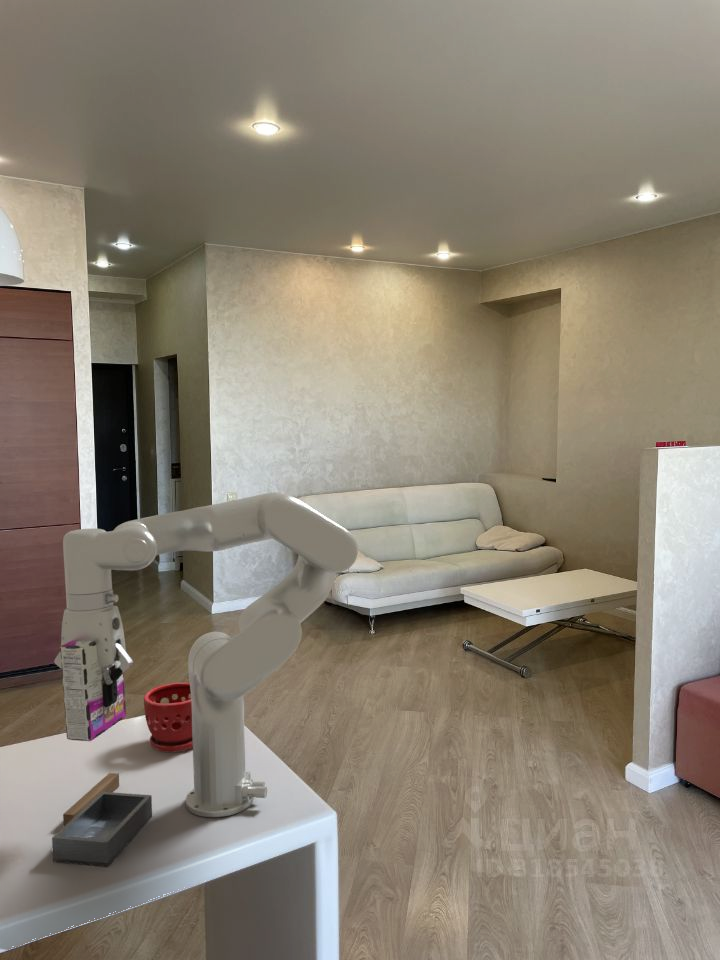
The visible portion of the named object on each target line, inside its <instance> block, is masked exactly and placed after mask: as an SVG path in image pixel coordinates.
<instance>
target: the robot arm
mask: <svg viewBox="0 0 720 960" xmlns="http://www.w3.org/2000/svg"><path fill="white" fill-rule="evenodd" d="M266 540H275V541H276V542H278V543H279V544H281V545H282V546H283V547H286V548H287V549H288V550H290V551H292V552H294V553H295V554H297V555H298V556H297V561H296V564H295V566H294V567H293V568H292V571H290V573H289V574H288V575H287V576H285V577H284V578H283V579H282V580H281V581H280V582H279V583H277V584H276V585H274V586H273V587H271V588H270V589H269V590H268V591H266V592H265V593H263V594H262V595H261V596H260V597H258V598H257V599H255V601H253V602H251V603H250V604H249V605H247V606H246V608H244V609H243V611H242V612H241V614H240V616H239V619H238V630H239V633H237V634H236V635H234V636H233V637H232V636H230V635H229V634H227V633H225V632H220V631H211V632H207V633H205V634H203V635H201V636H199V637H198V638H197V639H196V640H195V641H194V643H193V645H192V646H191V648H190V650H189V655H188V660H187V667H188V668H187V669H188V670H187V671H188V678H189V679H188V680H189V683H190V690H191V694H190V698H191V705H192V738H193V748H192V762H193V765H192V767H193V787H194V788H192V789H191V790H190V791H189V792H188V793H187V795H186V797H185V805H186V808H187V809H188V811H189V812H191V813H192V814H193V815H196V816H200V817H205V818H223V817H228V816H229V817H230V816H232V815H236V814H238V813H240V812H243V811H244V810H246V809H248V808H249V807H250V806H251V805H252V804H253V802H254V801H255V798H256V799H257V798H258V799H266V798H267V796H268V787H267V786H265V784H266V782H265V781H254V780H253V779H252V778H251V772H250V771H246V750H245V749H246V745H245V744H246V743H245V702H244V695H245V694H247V693H248V692H249V691H252V689H253V688H255V687H256V686H257V685H258V684H260V683H261V682H262V681H263V680H265V679H266V678H267V677H269V676H270V675H271V674H273V672H275V671H276V670H278V669H279V668H281V666H282V665H283V664H285V663H286V662H287V661H288V660H289V659H290V658H291V657H292V656H293V655H294V654H295V652H296V651H297V649H298V647H299V646H300V643H301V641H302V637H303V636H302V634H303V632H302V631H303V629H302V625H301V623H302V622H303V621H305V620H306V619H307V618H308V617H309V616H310V615H312V614H313V613H314V612H315V611H316V610H317V609H318V608H320V606H321V605H322V604H323V603H324V602H325V601H326V599H327V598H328V597H329V594H330V593H331V590H332V589H333V586H334V583H335V578H336V574H338V573H342V572H345V571H348V570H349V569H350V568H351V567H353V565H354V564H355V562H356V560H357V558H358V554H359V546H358V543H357V539H356V538H355V536H354V535H353V534H352V533H351V531H349V530H348V529H346V528H345V527H343V526H342V525H340V524H338V523H337V522H335V521H333V520H332V519H330V518H329V517H326V516H325V515H323V514H322V513H320V512H319V511H317V510H316V509H314V508H312V506H309V505H308V504H307V503H304V502H303V501H302V500H301V499H298V498H296V497H295V496H293V495H289V494H285V493H281V492H266V493H262V494H256V495H253V496H249V497H248V496H247V497H243V498H240V499H239V498H238V499H232V500H229V501H225V502H220V503H215V504H209V505H205V506H198V507H193V508H188V509H184V510H179V511H173V512H166V513H161V514H156V515H152V516H151V515H150V516H147V517H142V518H139V519H138V518H137V519H133V520H128V521H125V522H123V523H121V524H118V525H117V526H116V527H115V528H114V529H113V530H110V531H106V530H105V529H102V528H81V529H74V530H70V531H68V532H67V533H65V535H64V536H63V540H62V547H63V563H64V564H63V565H64V566H63V567H64V581H65V597H66V599H65V600H66V609H64V610H63V616H62V620H61V636H60V637H61V640H60V643H61V645H60V646H62V645H64V644H66V643H68V642H70V641H95V642H96V648H97V657H98V664H99V667H100V668H101V670H102V674H103V677H104V680H105V684H104V685H103V686H102V689H103V706H104V707H109V706H111V705H112V704H114V703H115V702H116V701H117V697H118V693H117V680H118V679H119V678H120V676H121V675H122V674H123V675H124V673H125V672H126V671H127V670H128V669H129V668H130V667H132V666H133V664H134V660H133V659H132V658H131V657H130V655H129V654H128V653H127V650H126V639H125V632H124V626H123V621H122V617H121V613H120V611H119V607H118V606H117V605H114V604H115V603H118V601H119V595H118V594H114V590H113V583H112V581H113V580H112V570H114V571H139V570H142V569H144V568H147V567H148V566H149V565H151V564H152V563H153V561H154V560H155V558H156V557H157V556H160V555H163V554H169V553H170V554H171V553H173V552H181V551H182V552H183V551H197V552H219V551H224V550H229V549H232V548H235V547H236V548H237V547H240V546H244V545H248V544H252V543H258V542H262V541H266ZM115 661H120V662H121V664H120V666H119V667H118V668H117V665H116V662H115ZM53 663H54V664H55V665H56V666H57V667H59V668H60V669H61V670H62V662H61V650H60V651H59V652H58V653H57V655H56V656H55V659H54V661H53Z"/></svg>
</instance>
